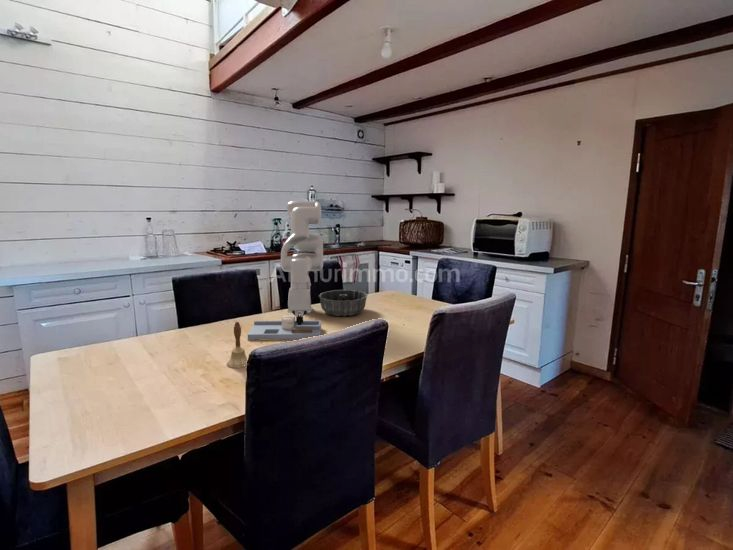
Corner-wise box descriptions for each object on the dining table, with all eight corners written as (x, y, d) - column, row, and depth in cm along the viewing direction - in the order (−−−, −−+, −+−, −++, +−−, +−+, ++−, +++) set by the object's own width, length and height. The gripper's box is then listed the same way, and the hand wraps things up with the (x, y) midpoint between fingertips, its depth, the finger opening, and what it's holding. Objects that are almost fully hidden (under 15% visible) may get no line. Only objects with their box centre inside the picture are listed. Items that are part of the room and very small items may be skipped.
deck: (254, 329, 183) (254, 320, 182) (321, 328, 186) (321, 320, 185) (247, 340, 168) (247, 331, 168) (320, 339, 171) (320, 330, 170)
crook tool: (292, 330, 174) (292, 327, 174) (312, 330, 175) (312, 327, 175) (291, 332, 171) (291, 329, 171) (312, 332, 172) (312, 329, 172)
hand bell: (255, 362, 146) (253, 321, 143) (237, 370, 139) (235, 327, 136) (239, 357, 150) (237, 317, 147) (221, 364, 143) (219, 323, 140)
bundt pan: (310, 316, 206) (310, 297, 204) (329, 304, 231) (329, 287, 229) (358, 321, 198) (358, 302, 197) (372, 308, 223) (373, 291, 221)
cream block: (283, 325, 182) (282, 315, 181) (295, 324, 182) (294, 315, 182) (281, 328, 176) (281, 319, 176) (294, 328, 177) (293, 319, 176)
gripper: (316, 283, 181) (316, 322, 184) (283, 283, 180) (284, 322, 183) (315, 287, 174) (315, 326, 177) (281, 287, 172) (282, 327, 176)
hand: (299, 324), depth 180 cm, fingers closed
